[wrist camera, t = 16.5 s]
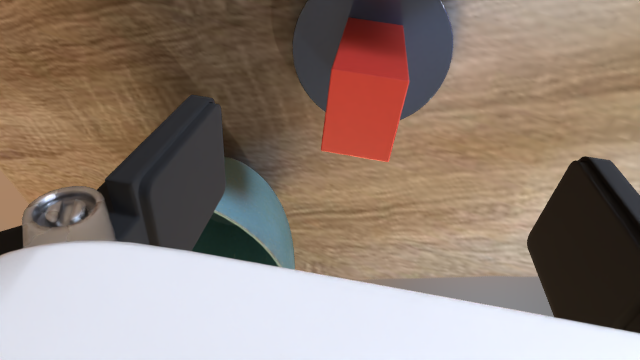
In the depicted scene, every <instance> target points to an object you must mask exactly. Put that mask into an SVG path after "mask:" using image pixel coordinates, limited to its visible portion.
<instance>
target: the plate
mask: <svg viewBox="0 0 640 360" xmlns="http://www.w3.org/2000/svg"><path fill="white" fill-rule="evenodd" d="M348 18H356V19H363V20H369V21H376V22H382V23H389V24H396V25H402V26H403V29H404V38H405V47H406V56H407V65H408V74H409V85H408V89H407V93H406V97H405V101H404V105H403V109H402V112H401V116H400V120H401V119H404V118H406V117H408V116H410V115H411V114H413V113H415V112H416V111H418V110H419V109H420V108H422V107H423V106H424V105H425V104H426V103H427V102H428V101H429V100H430V99H431V98H432V97H433V96H434V95H435V93H436V92H437V91H438V89H439V88H440V86H441V85H442V83H443V81H444V79H445V77H446V75H447V72H448V70H449V67H450V63H451V59H452V51H453V34H452V28H451V23H450V20H449V17H448V14H447V12H446V10H445V8H444V6H443V3H442V2H441V0H308V1H307V3H306V4H305V6H304V8H303V10H302V11H301V13H300V16H299V18H298V21H297V23H296V27H295V31H294V37H293V60H294V65H295V69H296V73H297V75H298V78H299V80H300V83H301V84H302V86H303V88H304V90H305V91H306V93H307V94H308V95H309V97H310V98H311V99H312V100H313V101H314V102H315V103H316V105H318V106H319V107H320V108H321V109H322V110H324V111H325V112H326V106H327V99H328V91H329V83H330V75H331V69H332V66H333V63H334V60H335V57H336V54H337V51H338V48H339V45H340V41H341V38H342V35H343V32H344V29H345V26H346V23H347V20H348Z"/></svg>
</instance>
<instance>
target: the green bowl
mask: <svg viewBox="0 0 640 360" xmlns="http://www.w3.org/2000/svg"><path fill="white" fill-rule="evenodd" d="M224 162H225V178H226V187H225V192H224V194H223V196H222V198H221V200H220V202H219V203H218V205H217V207H216V209H215V211H214V212H213V214H212V216H211V218H210V219H209V221H208V223H207V225H206V226H205V228H204V230H203V232H202V234H201V235H200V237H199V239H198V241H197V242H196V244H195V246H194V248H193V249H192V252H198V253H203V254H209V255H215V256H220V257H226V258H232V259H237V260H243V261H248V262H254V263H260V264H265V265H271V266H277V267H282V268H288V269H293V270H295V260H294V248H293V241H292V236H291V231H290V227H289V223H288V220H287V217H286V214H285V212H284V209H283V207H282V205H281V203H280V201H279V199H278V198H277V196H276V194H275V193H274V191H273V190H272V188H271V187H270V186H269V185H268V183H267V182H266V181H265V180H264V179H263V178H262V177H261V176H260V175H259V174H258V173H257V172H255V171H254V170H253V169H252V168H250V167H249V166H247V165H245V164H244V163H242V162H240V161H237V160H234V159H232V158H228V157H224Z"/></svg>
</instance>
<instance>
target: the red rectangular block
mask: <svg viewBox="0 0 640 360" xmlns="http://www.w3.org/2000/svg"><path fill="white" fill-rule="evenodd" d="M408 85H409V74H408V65H407V56H406V47H405V38H404V29H403V26H402V25H396V24H389V23H382V22H376V21H369V20H363V19H356V18H348V20H347V23H346V26H345V29H344V32H343V35H342V38H341V41H340V45H339V48H338V51H337V54H336V57H335V60H334V63H333V66H332V69H331V75H330V83H329V91H328V99H327V106H326V114H325V122H324V129H323V137H322V145H321V151H326V152H332V153H338V154H344V155H349V156H355V157H361V158H367V159H373V160H379V161H385V162H388V161H389V159H390V155H391V151H392V147H393V143H394V140H395V136H396V132H397V128H398V124H399V120H400V116H401V112H402V109H403V105H404V101H405V97H406V93H407V89H408Z"/></svg>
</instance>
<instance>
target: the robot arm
mask: <svg viewBox="0 0 640 360" xmlns="http://www.w3.org/2000/svg"><path fill="white" fill-rule="evenodd" d="M225 187H226V178H225V162H224V146H223V130H222V114H221V107H220V105H219V104H215V101H214V99H213V98H209V97H202V96H196V95H190V96H189V97H188V98H187V99H186V100H185V101H184V102H183V103H182V104H181V105H180V106H179V107H178V108H177V109H176V110H175V111H174V112H173V113H172V114H171V115H170V116H169V117H168V118H167V119H166V120H165V121H164V122H163V123H162V124H161V125H160V126H159V127H158V128H157V129H156V130H155V131H154V132H153V133H152V134H151V135H150V136H148V137H147V138H146V139H145V140H144V141H143V142H142V143H141V144H140V145H139V146H138V147H137V148H136V149H135V150H134V151H133V152H132V153H131V154H130V155H129V156H128V157H127V158H126V159H125V160H124V161H123V162H122V163H121V164H120V165H119V166H118V167H117V168H116V169H115V170H114V171H113V172H112V173H111V174H110V175H109V176H108V177H107V178H106V179H105V182H104V183H103V184H102V185H101V186H100V187H99V188H98V189H97V190H95V189H93V188H89V187H84V186H72V187H65V188H60V189H57V190H54V191H50V192H48V193H46V194H44V195H42V196H40V197H38V198H37V199H35V200H34V201H33V202H31V203H30V204H29V205H28V207H27V208H26V209H25V211H24V214H23V218H22V225H21V226H18V227H15V228H11V229H8V230H5V231H1V232H0V360H640V195H639V194H638V193H637V192H636V190H635V189H634V188H633V187H632V185H631V184H630V183H629V182H628V181H627V179H626V178H625V177H624V176H623V175H622V173H621V172H620V171H619V170H618V169H617V167H616V166H615V165H614V164H613V162H611V161H610V160H604V159H598V158H592V157H582V158H581V159H579V160H578V161H573V162H572V163H571V164H570V165H569V167H568V169H567V170H566V172H565V174H564V176H563V177H562V179H561V181H560V182H559V184H558V186H557V188H556V189H555V191H554V193H553V194H552V196H551V198H550V200H549V201H548V203H547V205H546V206H545V208H544V210H543V212H542V213H541V215H540V217H539V218H538V220H537V222H536V224H535V225H534V227H533V229H532V230H531V232H530V234H529V236H528V240H527V246H528V250H529V252H530V255H531V258H532V260H533V263H534V265H535V268H536V271H537V273H538V276H539V278H540V281H541V283H542V286H543V289H544V291H545V294H546V297H547V299H548V302H549V304H550V307H551V310H552V312H553V315H554V317H550V316H545V315H539V314H534V313H528V312H523V311H518V310H513V309H507V308H501V307H497V306H491V305H486V304H480V303H475V302H470V301H464V300H459V299H453V298H448V297H442V296H437V295H431V294H426V293H420V292H415V291H409V290H404V289H399V288H393V287H388V286H382V285H377V284H371V283H365V282H360V281H355V280H349V279H344V278H338V277H333V276H327V275H321V274H316V273H310V272H305V271H299V270H293V269H288V268H282V267H277V266H271V265H265V264H260V263H254V262H248V261H243V260H237V259H232V258H226V257H220V256H215V255H209V254H203V253H198V252H192V249H193V248H194V246H195V244H196V242H197V241H198V239H199V237H200V235H201V234H202V232H203V230H204V228H205V226H206V225H207V223H208V221H209V219H210V218H211V216H212V214H213V212H214V211H215V209H216V207H217V205H218V203H219V202H220V200H221V198H222V196H223V194H224V192H225Z"/></svg>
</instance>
